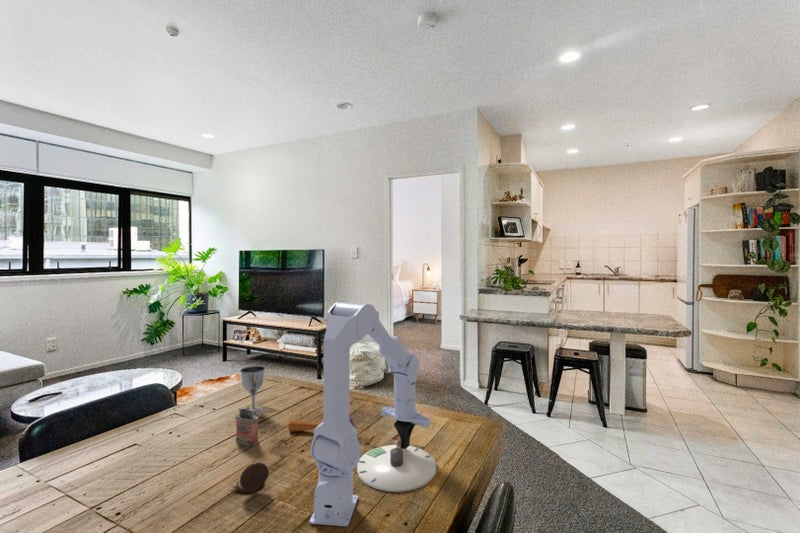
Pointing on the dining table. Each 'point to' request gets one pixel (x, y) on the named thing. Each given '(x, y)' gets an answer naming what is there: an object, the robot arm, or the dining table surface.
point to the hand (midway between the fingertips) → (405, 447)
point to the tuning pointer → (397, 455)
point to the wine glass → (253, 382)
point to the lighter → (247, 427)
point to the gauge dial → (396, 469)
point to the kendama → (306, 425)
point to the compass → (252, 478)
